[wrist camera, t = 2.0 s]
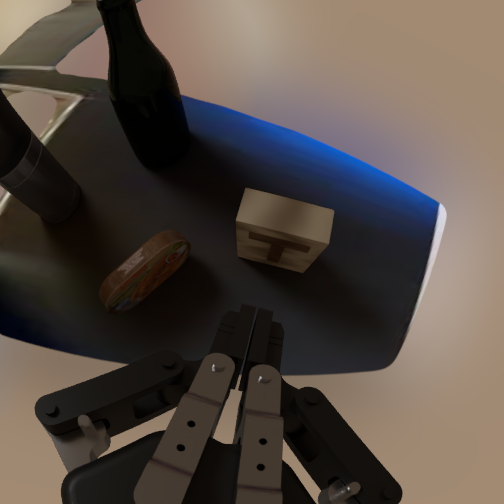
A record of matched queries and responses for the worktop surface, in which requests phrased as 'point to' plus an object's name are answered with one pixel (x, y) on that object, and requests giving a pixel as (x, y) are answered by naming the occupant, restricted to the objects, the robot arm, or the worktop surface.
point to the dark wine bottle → (143, 88)
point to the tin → (143, 271)
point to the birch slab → (281, 230)
